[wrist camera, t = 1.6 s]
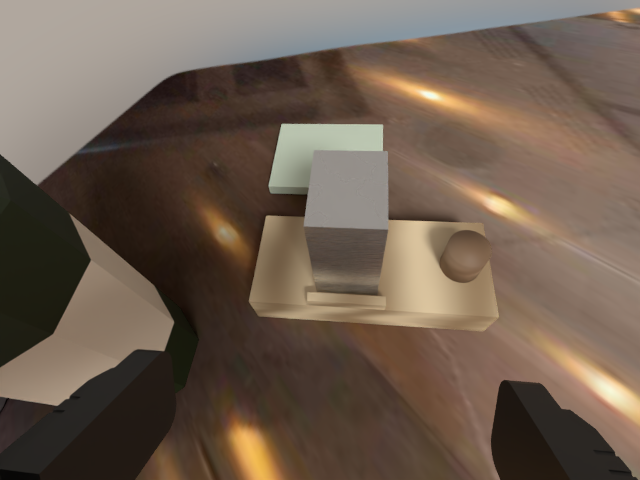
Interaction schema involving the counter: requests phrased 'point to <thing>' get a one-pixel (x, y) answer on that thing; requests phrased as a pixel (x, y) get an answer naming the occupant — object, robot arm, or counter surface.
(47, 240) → the wine bottle
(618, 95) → the counter surface
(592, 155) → the counter surface
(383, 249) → the grey upright block
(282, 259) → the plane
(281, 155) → the pad
